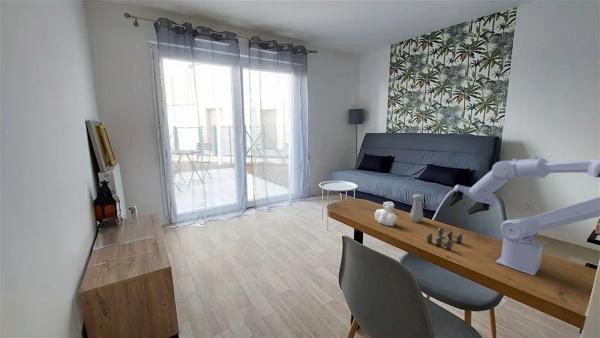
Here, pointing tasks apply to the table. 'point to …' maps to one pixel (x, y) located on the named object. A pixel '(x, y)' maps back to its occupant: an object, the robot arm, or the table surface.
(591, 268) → the table surface
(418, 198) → the salt shaker
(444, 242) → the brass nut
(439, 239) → the black spacers
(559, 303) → the table surface
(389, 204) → the duck figurine
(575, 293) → the table surface
